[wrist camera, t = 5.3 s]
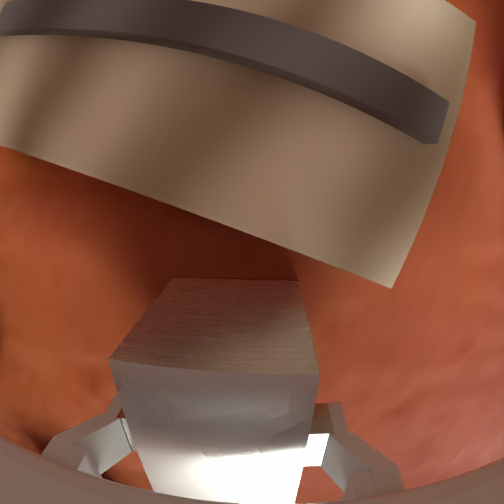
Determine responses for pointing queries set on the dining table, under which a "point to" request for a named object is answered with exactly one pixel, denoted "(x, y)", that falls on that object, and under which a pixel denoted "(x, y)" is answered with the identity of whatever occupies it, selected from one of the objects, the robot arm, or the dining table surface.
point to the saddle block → (221, 389)
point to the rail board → (248, 110)
